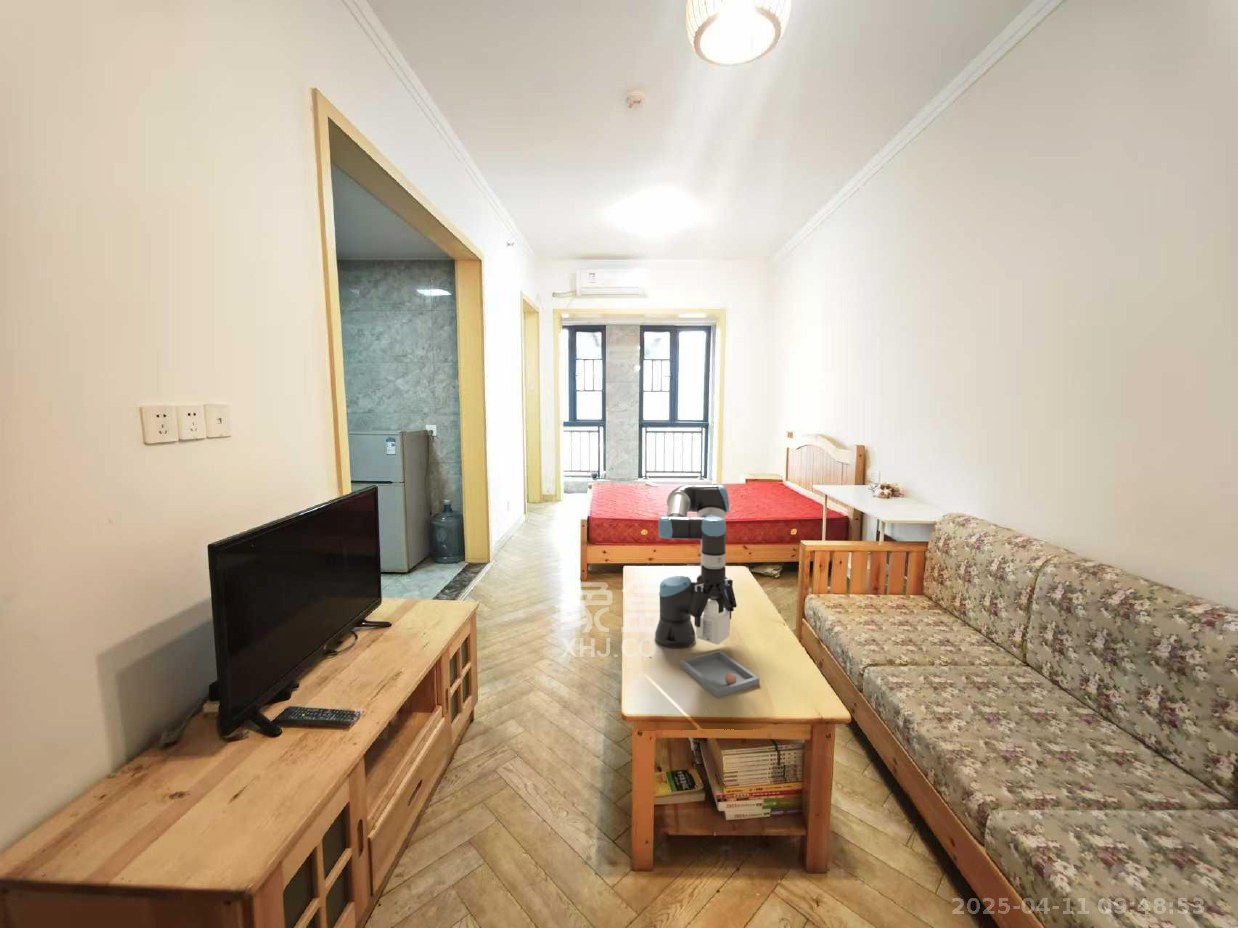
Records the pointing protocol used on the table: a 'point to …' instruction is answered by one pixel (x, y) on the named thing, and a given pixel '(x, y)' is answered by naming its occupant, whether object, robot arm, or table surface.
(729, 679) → the ball
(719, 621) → the container
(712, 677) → the tray
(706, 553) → the robot arm
